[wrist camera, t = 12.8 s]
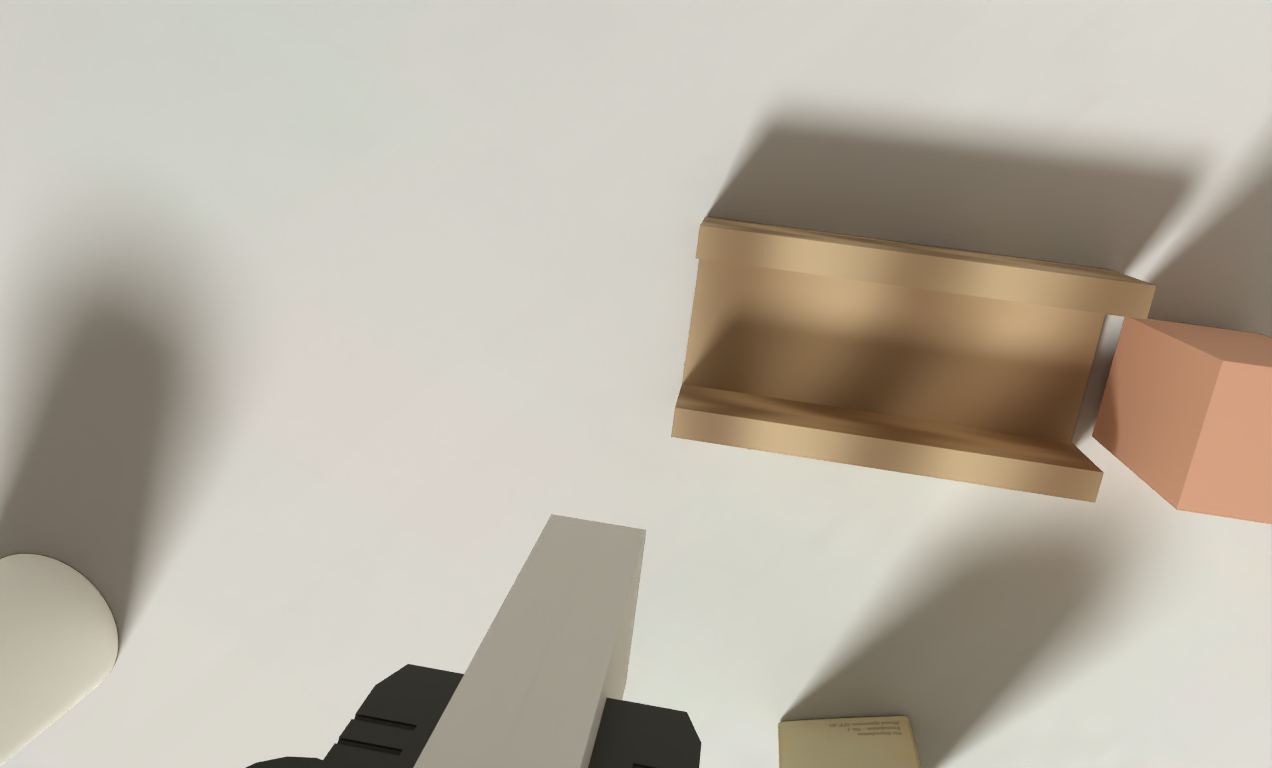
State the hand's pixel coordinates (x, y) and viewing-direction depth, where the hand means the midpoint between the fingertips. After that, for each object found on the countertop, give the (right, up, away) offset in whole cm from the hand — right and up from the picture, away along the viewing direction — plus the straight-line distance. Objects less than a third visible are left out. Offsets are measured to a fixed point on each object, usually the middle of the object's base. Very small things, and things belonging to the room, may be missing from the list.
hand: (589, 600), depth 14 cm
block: (+22, +3, +21) cm, 31 cm away
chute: (+11, +5, +23) cm, 26 cm away
